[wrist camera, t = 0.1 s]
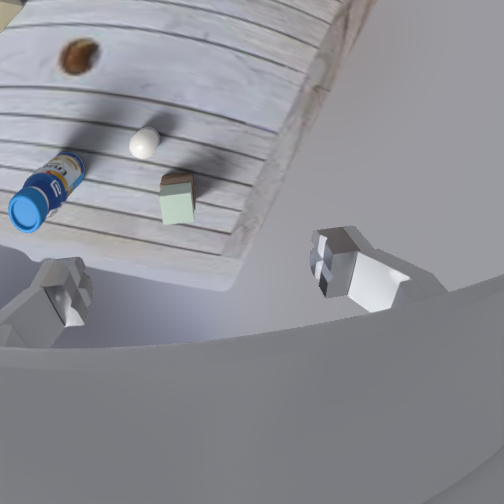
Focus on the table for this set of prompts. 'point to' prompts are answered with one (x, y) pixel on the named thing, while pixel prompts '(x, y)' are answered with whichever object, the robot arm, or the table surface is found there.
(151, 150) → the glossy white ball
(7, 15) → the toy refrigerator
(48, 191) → the beverage bottle
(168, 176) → the tower base
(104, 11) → the table surface
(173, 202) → the tower top
